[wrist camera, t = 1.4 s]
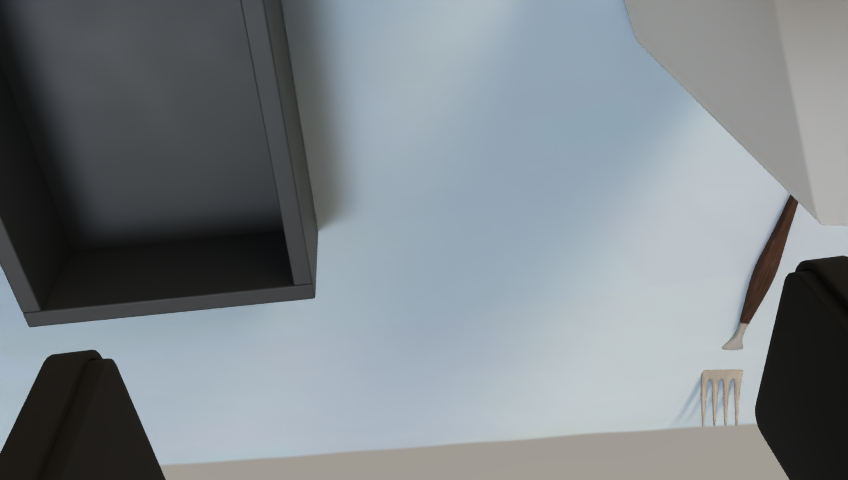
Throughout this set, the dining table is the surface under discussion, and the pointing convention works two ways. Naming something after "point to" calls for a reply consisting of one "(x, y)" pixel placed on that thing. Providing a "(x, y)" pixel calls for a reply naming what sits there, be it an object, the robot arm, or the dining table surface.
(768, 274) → the fork
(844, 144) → the milk carton
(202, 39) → the base bin
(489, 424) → the dining table surface
